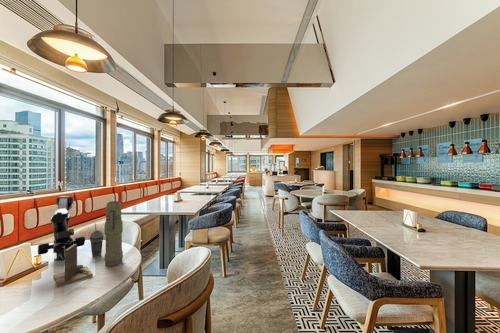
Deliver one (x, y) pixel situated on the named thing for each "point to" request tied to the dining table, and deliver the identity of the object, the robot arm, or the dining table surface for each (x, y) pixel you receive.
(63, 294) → the dining table surface
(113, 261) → the moai statue
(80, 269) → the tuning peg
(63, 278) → the dial plate
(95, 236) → the beverage cup
